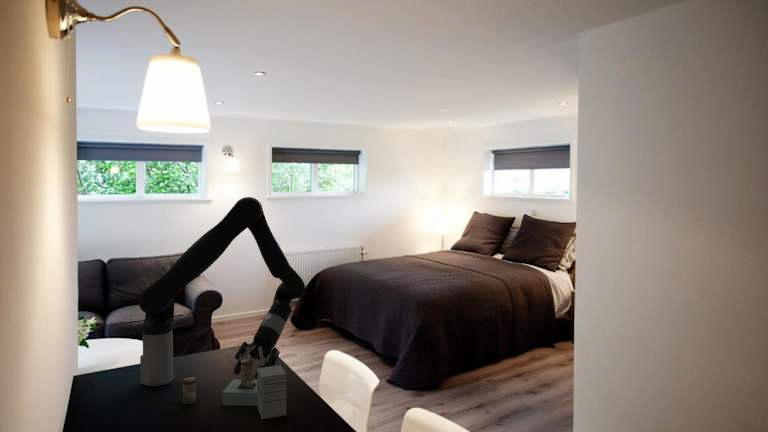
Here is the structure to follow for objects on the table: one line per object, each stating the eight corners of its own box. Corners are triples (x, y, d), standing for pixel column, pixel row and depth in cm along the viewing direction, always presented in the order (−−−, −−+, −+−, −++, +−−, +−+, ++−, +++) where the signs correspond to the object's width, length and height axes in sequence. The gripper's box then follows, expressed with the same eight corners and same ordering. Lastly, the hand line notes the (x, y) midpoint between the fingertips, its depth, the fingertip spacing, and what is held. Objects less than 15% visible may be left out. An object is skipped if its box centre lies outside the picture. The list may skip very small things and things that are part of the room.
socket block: (222, 405, 146) (222, 392, 146) (233, 391, 156) (233, 379, 156) (261, 405, 146) (261, 393, 146) (270, 392, 156) (270, 380, 156)
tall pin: (239, 400, 150) (239, 362, 149) (243, 395, 153) (243, 358, 153) (251, 400, 150) (251, 363, 149) (254, 395, 153) (254, 358, 153)
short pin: (180, 404, 147) (180, 381, 147) (186, 398, 151) (185, 377, 150) (192, 404, 147) (192, 382, 146) (197, 399, 151) (197, 377, 150)
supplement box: (256, 409, 144) (256, 367, 143) (281, 405, 147) (281, 364, 146) (260, 420, 137) (260, 376, 137) (286, 415, 140) (286, 373, 140)
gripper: (247, 322, 161) (222, 366, 151) (282, 327, 155) (258, 375, 145) (258, 333, 166) (235, 377, 156) (292, 339, 160) (269, 385, 150)
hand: (246, 376), depth 151 cm, fingers open, 8 cm apart
